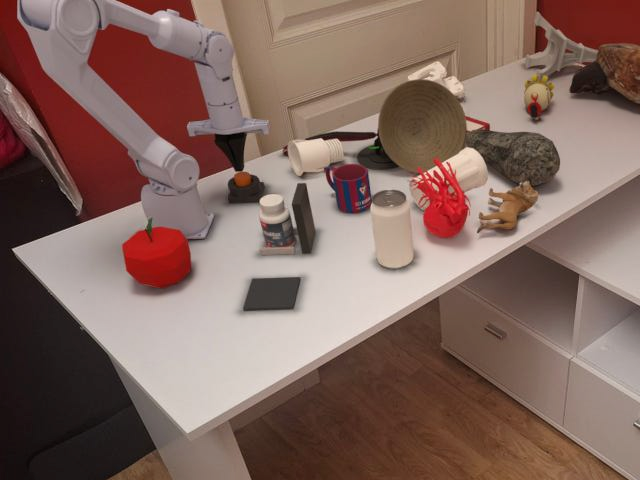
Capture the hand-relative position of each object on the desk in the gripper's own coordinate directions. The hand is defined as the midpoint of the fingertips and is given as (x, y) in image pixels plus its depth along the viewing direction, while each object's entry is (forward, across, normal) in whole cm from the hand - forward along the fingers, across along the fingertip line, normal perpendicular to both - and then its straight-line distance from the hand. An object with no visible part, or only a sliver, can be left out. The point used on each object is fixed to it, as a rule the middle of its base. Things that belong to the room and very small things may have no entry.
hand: (239, 169), depth 134 cm
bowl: (+1, -33, -17) cm, 37 cm away
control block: (+6, 0, 0) cm, 6 cm away
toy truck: (+3, -44, -22) cm, 49 cm away
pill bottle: (+6, -10, +17) cm, 21 cm away
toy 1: (+4, -15, -14) cm, 21 cm away
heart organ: (+6, -38, +16) cm, 42 cm away
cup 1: (+6, -21, +3) cm, 22 cm away
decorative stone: (0, -56, -9) cm, 57 cm away
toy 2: (+2, -60, -28) cm, 66 cm away
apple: (+6, +8, +26) cm, 28 cm away
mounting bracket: (+1, -43, -47) cm, 64 cm away
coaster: (+6, -10, +32) cm, 35 cm away
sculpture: (+4, -77, -48) cm, 90 cm away
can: (+6, -30, +23) cm, 39 cm away
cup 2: (+2, -34, +8) cm, 35 cm away
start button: (+3, 0, 0) cm, 3 cm away
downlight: (+2, -9, -8) cm, 12 cm away
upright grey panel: (+6, -11, +17) cm, 21 cm away
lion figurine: (+2, -47, +10) cm, 48 cm away
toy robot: (+6, -27, -15) cm, 31 cm away
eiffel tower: (-2, -63, -58) cm, 86 cm away
